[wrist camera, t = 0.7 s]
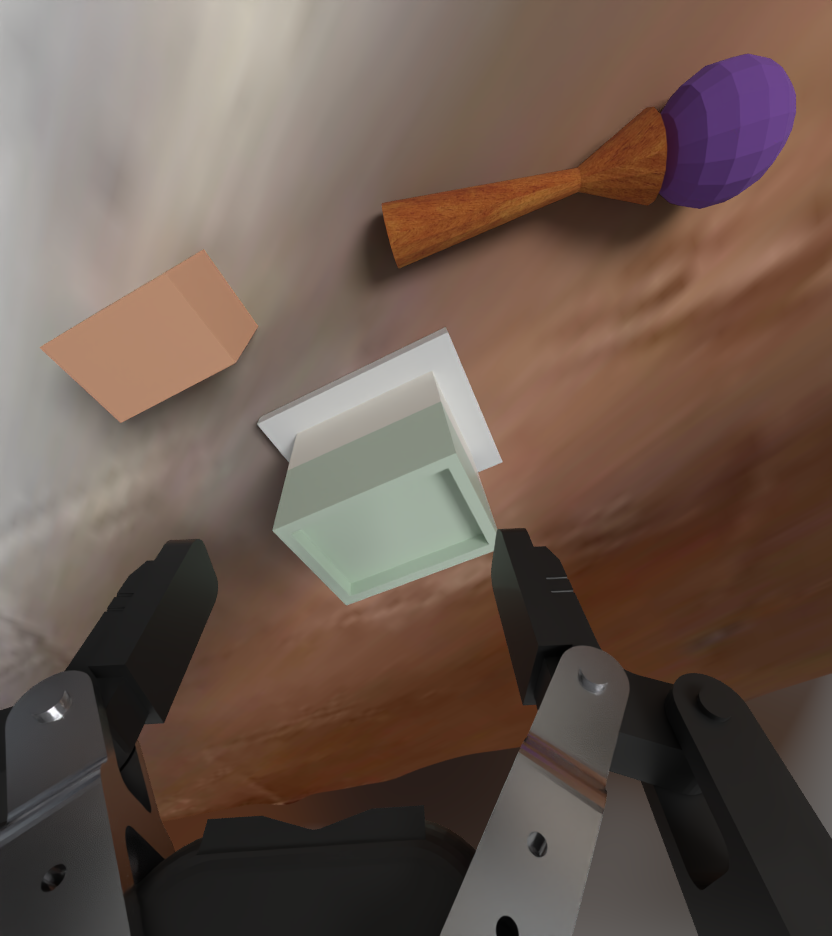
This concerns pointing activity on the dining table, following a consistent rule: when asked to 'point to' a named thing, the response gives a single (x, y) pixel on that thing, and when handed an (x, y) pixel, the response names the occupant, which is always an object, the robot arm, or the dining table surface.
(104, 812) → the robot arm
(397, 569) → the mint open-top box
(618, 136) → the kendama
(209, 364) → the brick
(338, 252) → the dining table surface
